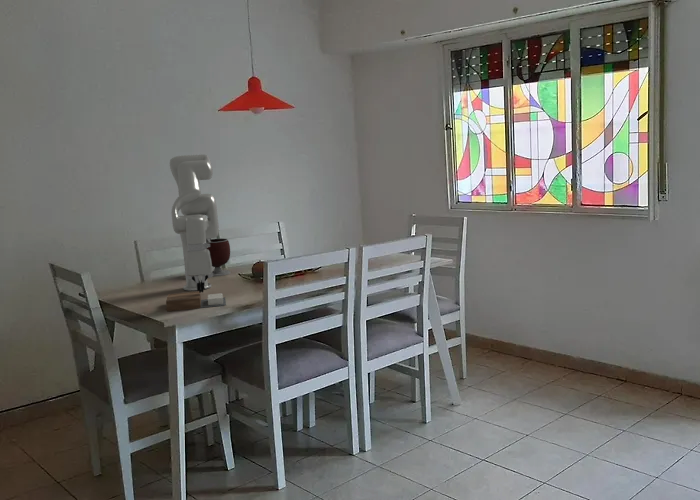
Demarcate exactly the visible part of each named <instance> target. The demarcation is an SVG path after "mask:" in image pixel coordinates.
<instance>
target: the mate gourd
mask: <svg viewBox="0 0 700 500" xmlns="http://www.w3.org/2000/svg"><path fill="white" fill-rule="evenodd" d="M206 243H207V244H210V247H208V248H207V249H208V250H209V252H210V256H211V263H212V268H213V267H214V269H213V270H212V272H213V277H221V276H226V275H227V276H228V275H230V274H231V270H226V269H225V270H223V269H222V266H224V265H225V264H227V263H228V262H229V260H230V258H231V246H230V245H231V244H230V241H229V239H228V238H220V237H219V238H211V239H206Z"/></svg>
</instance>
